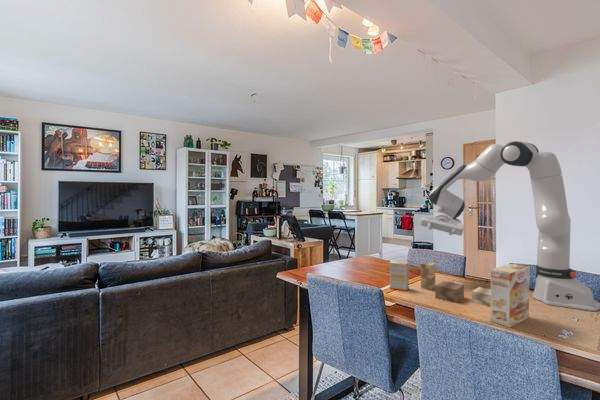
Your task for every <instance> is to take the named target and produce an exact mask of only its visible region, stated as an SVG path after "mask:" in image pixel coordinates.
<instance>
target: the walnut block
mask: <svg viewBox="0 0 600 400" xmlns="http://www.w3.org/2000/svg"><path fill="white" fill-rule="evenodd" d="M434 290H435V293H434V294H435V297H434V298H435V299H437V298H438V299H437V300H441V299H442V300H441V301H445V300H447V301H446V302H450V301H452V302H451V303H454V302H456V304H457V302H458V301H459V302H461V301H462V300H463V299H464V298H465V284H462V283H457V282H450V281H446V280H443V281H441V282H438V283H437V284H435V288H434ZM462 298H463V299H462ZM461 299H462V300H461ZM459 302H458V303H459Z"/></svg>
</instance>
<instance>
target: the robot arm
mask: <svg viewBox="0 0 600 400" xmlns="http://www.w3.org/2000/svg"><path fill="white" fill-rule="evenodd" d="M503 165H509V166H512V167H525V168H527V170H528V172H529V177H530V184H531V190H532V195H533V206H534V214H535V215H534V216H535V223H536V227H537V229H538V234H537V235H538V237H537V238H538V239H537V247H536V248H537V251H536V252H537V254H536V256H537V260H536V266H535V278H536V279H535V284H534V285H535V286H534V289H533V292H532V295H531V296H532V298H534V299H535V300H538V301H539V302H542V303H544V304H546V305H549V306H556V307H562V308H563V307H564V308H570V309H576V310H582V311H583V310H584V311H591V312H596V311H599V310H600V302H599V301H598V300H596V299H594V294H593V292H592V290H591V289H590V287H589V286H587V285H586V284H584V283H583V282H581V281H580V280H579V279H578V278H576V277H577V272H576V269H572V268H570V257H571V255H570V254H571V222H572V221H571V217H570V215H569V211H568V210H569V209H568V203H567V196H566V190H565V184H564V179H563V172H562V168H561V165H560V163H559V160H558V157H557V155H556V154H554V153H553V152H550V151H541V152H539V149H538V147H537V146H536V145H535V144H533V143H529V142H527V141H522V140H521V141H516V140H515V141H510V142H508V143H506V144H505V145H504V146H503V145H501V144H498V143H492V144H490V145H489V146H488V147H485V149H484V150H483V151H482V152H481V153H480V154H478V156H477V158H475V160H473V161H472V162H471V163H468V164H461V166H459V167H458V168H457V169H455V170H454V171H453V172H452V173H451V174H450V175H449V176H448V177H446V178H445V179H444V180H443V181H441V183H439V184H438V185H437V186H436V187H434V188H432V189H431V191H430V192H429V194H428V199H429V202H430V203H431V204H433V205H435V206H437V207H438V208H437V209H436V211H435V212H434V216H433V217H432V216H429V215H423V216H421V217H420V222H419V225H420V226H421V227H425V228H427V229H428V230H431V231H432V230H437V231H440V232H444V233H448V235H450V236H452V235H457V236H462V235H463V233H464V224H462V220H461V219H459V217H460V215H462V214H463V212H464V210H465V206H466V203H465V200H464V199H463V198H461V197H460V196H458V195H456V194H455V193H453V192H451V191H449V190H448V188H449V187H451V186H452V185H453V184H454V183H456V182H457V181H458V180H459V181H460V180H468V181H472V182H473V181H475V182H486V181H488V180H490V179H491V178H492V177H493V176H494V175H495V174H496V173H497V172H498V171H499V169H501V167H503Z"/></svg>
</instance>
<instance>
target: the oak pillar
mask: <svg viewBox="0 0 600 400" xmlns="http://www.w3.org/2000/svg"><path fill="white" fill-rule="evenodd" d="M435 285H436V263H434V262H427V261H425V262H424V261H423V262H422V263H420V289H422V288H423V290H426V291H427V290H428V291H433V290H435Z"/></svg>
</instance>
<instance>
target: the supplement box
mask: <svg viewBox="0 0 600 400" xmlns="http://www.w3.org/2000/svg"><path fill="white" fill-rule="evenodd" d="M388 266H389V289H390V288H391V290H392V289H393V290H399V291H406V292H407V291H408V290H409V288H410V285H409V284H410V281H409V280H410V279H409V277H410V276H409V271H410V270H409V262H408V261H402V260H401V261H400V260H391V261H390V262H389V265H388Z"/></svg>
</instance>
